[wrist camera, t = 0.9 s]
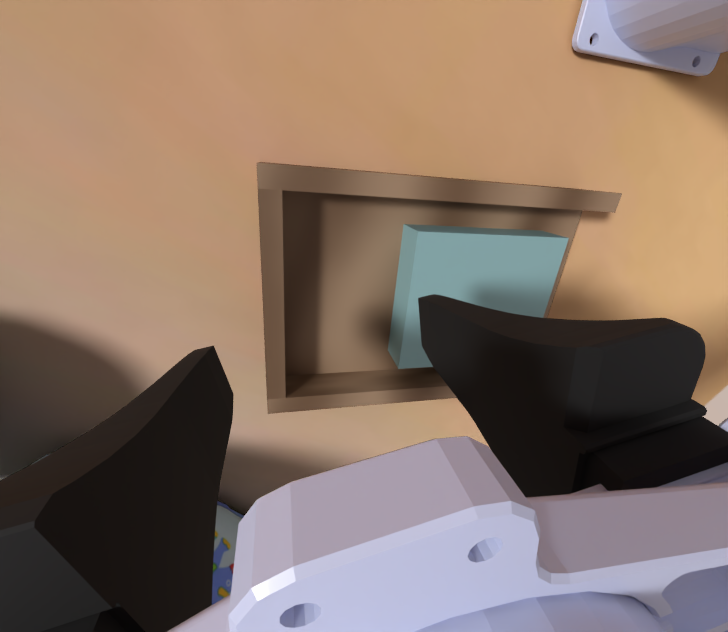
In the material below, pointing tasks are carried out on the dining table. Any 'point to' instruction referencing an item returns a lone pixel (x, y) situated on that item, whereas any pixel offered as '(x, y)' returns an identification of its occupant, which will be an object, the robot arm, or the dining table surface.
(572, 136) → the dining table surface
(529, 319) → the robot arm
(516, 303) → the teal square tile
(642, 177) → the dining table surface
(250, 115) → the dining table surface
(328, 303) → the box
